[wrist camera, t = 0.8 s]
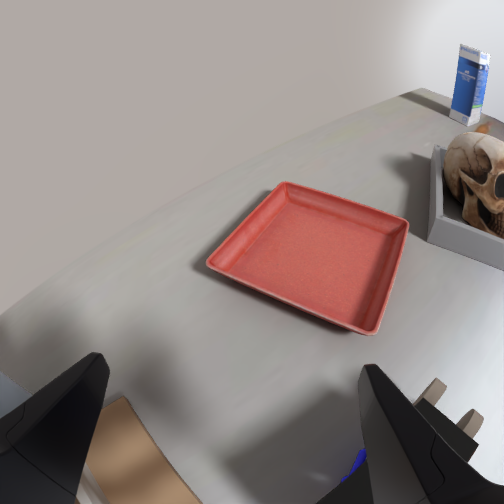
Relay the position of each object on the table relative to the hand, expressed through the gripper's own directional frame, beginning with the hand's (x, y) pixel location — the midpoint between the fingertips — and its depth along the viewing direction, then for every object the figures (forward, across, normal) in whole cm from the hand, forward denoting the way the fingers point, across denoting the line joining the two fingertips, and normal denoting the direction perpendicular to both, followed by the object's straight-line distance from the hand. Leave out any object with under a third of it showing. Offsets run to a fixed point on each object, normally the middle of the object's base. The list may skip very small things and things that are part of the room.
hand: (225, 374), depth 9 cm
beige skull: (+34, -36, +7) cm, 50 cm away
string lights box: (+84, -65, -8) cm, 106 cm away
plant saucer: (+24, -6, +10) cm, 27 cm away
